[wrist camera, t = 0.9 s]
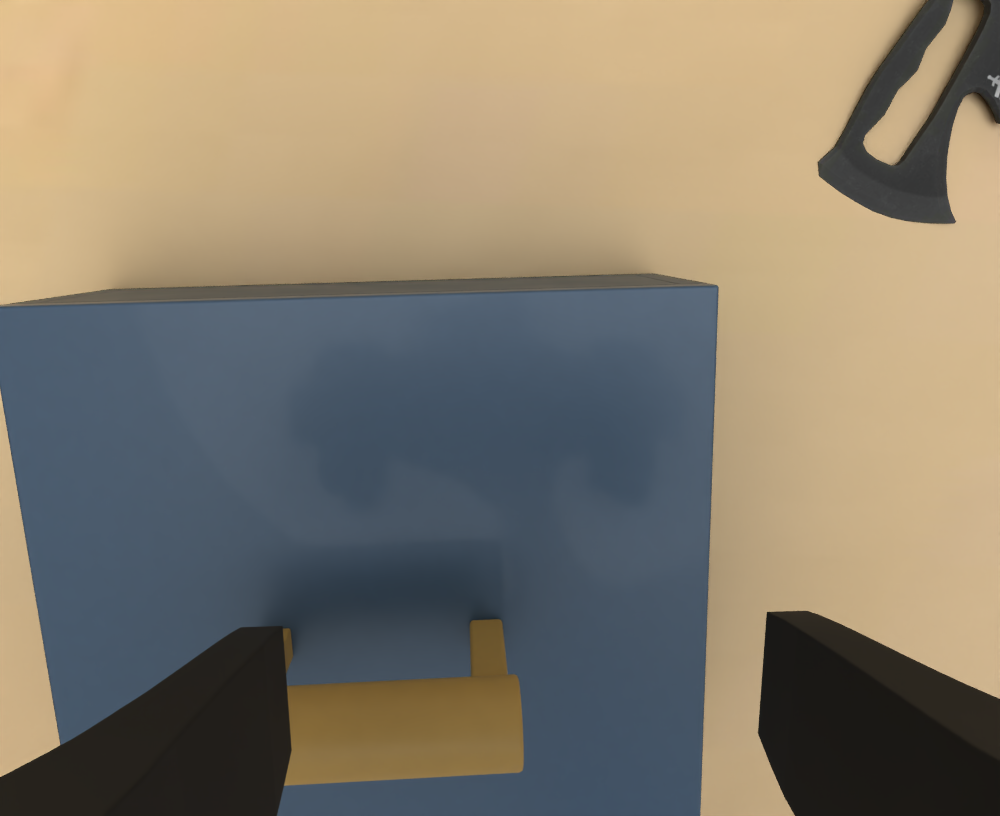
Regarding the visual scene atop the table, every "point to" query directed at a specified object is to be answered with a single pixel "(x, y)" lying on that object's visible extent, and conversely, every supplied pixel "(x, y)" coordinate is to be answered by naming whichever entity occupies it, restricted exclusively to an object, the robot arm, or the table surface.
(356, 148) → the table surface
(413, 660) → the lid
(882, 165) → the tomahawk
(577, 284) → the bin
